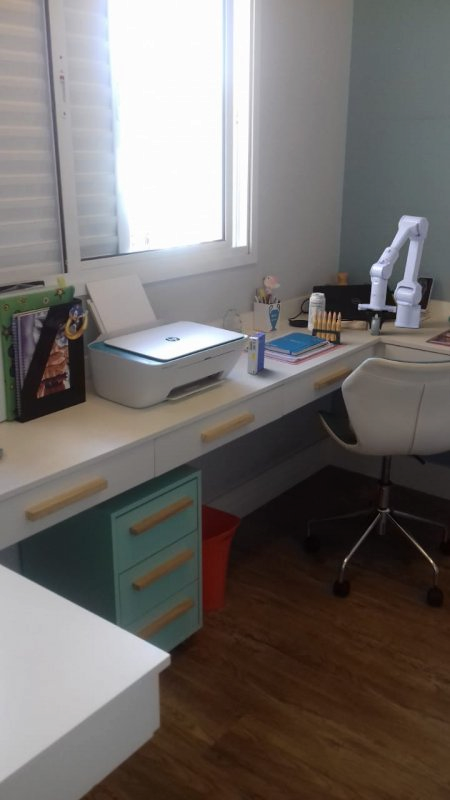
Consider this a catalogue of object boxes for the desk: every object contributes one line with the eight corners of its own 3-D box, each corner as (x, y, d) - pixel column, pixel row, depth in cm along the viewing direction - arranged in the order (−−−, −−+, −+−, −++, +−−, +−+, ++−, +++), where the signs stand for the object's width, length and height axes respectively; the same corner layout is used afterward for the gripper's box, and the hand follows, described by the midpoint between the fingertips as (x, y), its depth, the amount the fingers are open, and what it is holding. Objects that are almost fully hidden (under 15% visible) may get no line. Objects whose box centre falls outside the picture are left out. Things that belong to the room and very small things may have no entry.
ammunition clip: (311, 341, 274) (313, 310, 270) (311, 340, 276) (314, 309, 272) (339, 344, 271) (342, 313, 267) (340, 343, 273) (342, 312, 269)
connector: (378, 331, 291) (380, 313, 288) (378, 335, 285) (380, 316, 282) (370, 331, 291) (372, 312, 289) (370, 335, 286) (372, 316, 283)
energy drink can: (325, 331, 289) (328, 293, 284) (319, 334, 285) (322, 296, 279) (311, 329, 292) (314, 291, 287) (305, 332, 287) (307, 294, 282)
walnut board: (366, 323, 303) (366, 321, 303) (365, 330, 292) (366, 328, 292) (334, 321, 306) (335, 319, 305) (333, 328, 295) (333, 326, 294)
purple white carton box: (256, 366, 243) (257, 331, 239) (263, 367, 242) (265, 332, 238) (246, 372, 236) (248, 336, 232) (254, 374, 235) (256, 338, 231)
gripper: (359, 295, 280) (356, 329, 285) (397, 297, 278) (394, 332, 282) (359, 291, 287) (356, 325, 292) (397, 294, 284) (393, 328, 289)
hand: (375, 328), depth 287 cm, fingers closed on connector, 3 cm apart
